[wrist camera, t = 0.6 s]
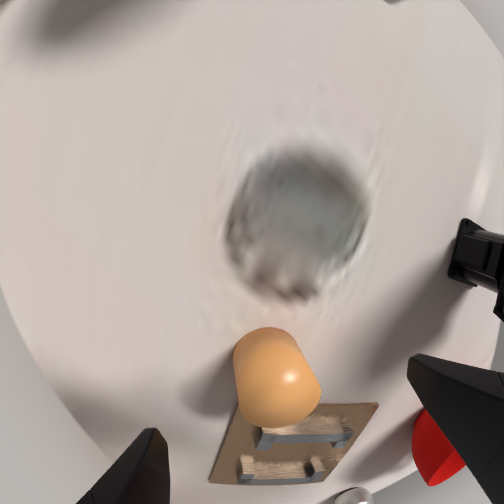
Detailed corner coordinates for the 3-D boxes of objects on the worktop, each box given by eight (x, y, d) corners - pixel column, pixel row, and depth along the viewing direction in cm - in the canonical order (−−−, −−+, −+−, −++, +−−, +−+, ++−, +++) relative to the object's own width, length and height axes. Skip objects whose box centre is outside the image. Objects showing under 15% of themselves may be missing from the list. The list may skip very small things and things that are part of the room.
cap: (306, 332, 23) (333, 373, 17) (285, 384, 23) (303, 429, 18) (242, 321, 22) (252, 364, 16) (225, 376, 22) (230, 425, 17)
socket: (377, 402, 26) (385, 413, 24) (321, 479, 29) (325, 489, 27) (239, 397, 23) (242, 412, 21) (209, 479, 26) (209, 491, 24)
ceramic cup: (403, 461, 31) (429, 498, 22) (388, 422, 27) (425, 473, 18) (461, 416, 32) (491, 446, 22) (461, 362, 27) (507, 397, 18)
